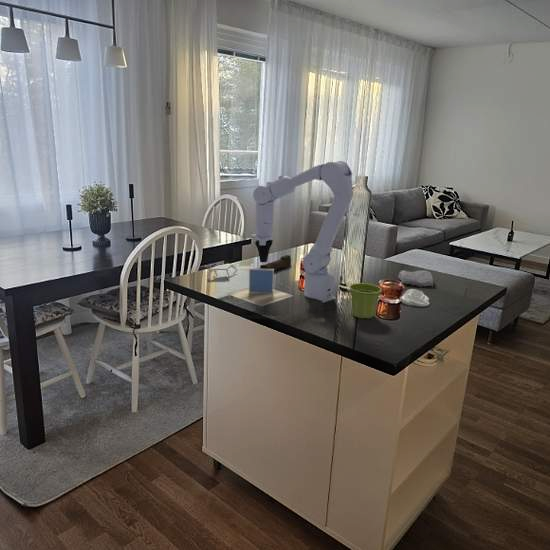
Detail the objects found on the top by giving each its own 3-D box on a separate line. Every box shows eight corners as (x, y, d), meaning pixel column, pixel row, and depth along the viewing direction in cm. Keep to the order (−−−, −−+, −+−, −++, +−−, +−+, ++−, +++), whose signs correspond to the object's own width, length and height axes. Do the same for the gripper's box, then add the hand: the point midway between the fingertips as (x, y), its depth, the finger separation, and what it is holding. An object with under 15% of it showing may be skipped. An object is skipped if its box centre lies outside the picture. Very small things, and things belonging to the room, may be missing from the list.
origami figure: (224, 285, 168) (224, 272, 167) (205, 281, 172) (205, 268, 171) (243, 277, 178) (243, 264, 177) (225, 273, 182) (225, 261, 181)
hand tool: (267, 276, 182) (267, 264, 180) (259, 274, 184) (259, 262, 183) (296, 266, 196) (296, 255, 195) (288, 264, 199) (288, 253, 197)
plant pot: (357, 307, 150) (359, 281, 148) (384, 315, 145) (387, 287, 142) (341, 315, 143) (343, 287, 141) (369, 323, 138) (372, 295, 135)
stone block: (434, 292, 174) (429, 279, 183) (436, 280, 172) (430, 268, 181) (400, 291, 175) (397, 278, 184) (402, 279, 173) (398, 267, 182)
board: (293, 298, 157) (293, 295, 156) (261, 309, 146) (261, 306, 146) (258, 287, 167) (258, 284, 167) (226, 296, 157) (226, 293, 156)
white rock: (417, 284, 162) (438, 292, 154) (415, 296, 164) (436, 305, 155) (393, 287, 158) (414, 296, 150) (392, 300, 159) (412, 309, 151)
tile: (273, 292, 159) (274, 269, 157) (273, 293, 158) (273, 270, 156) (249, 291, 159) (249, 267, 157) (248, 292, 158) (249, 269, 156)
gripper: (254, 218, 167) (253, 256, 171) (250, 225, 153) (249, 266, 157) (274, 218, 167) (273, 256, 171) (272, 226, 153) (271, 267, 157)
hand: (263, 261), depth 164 cm, fingers closed
